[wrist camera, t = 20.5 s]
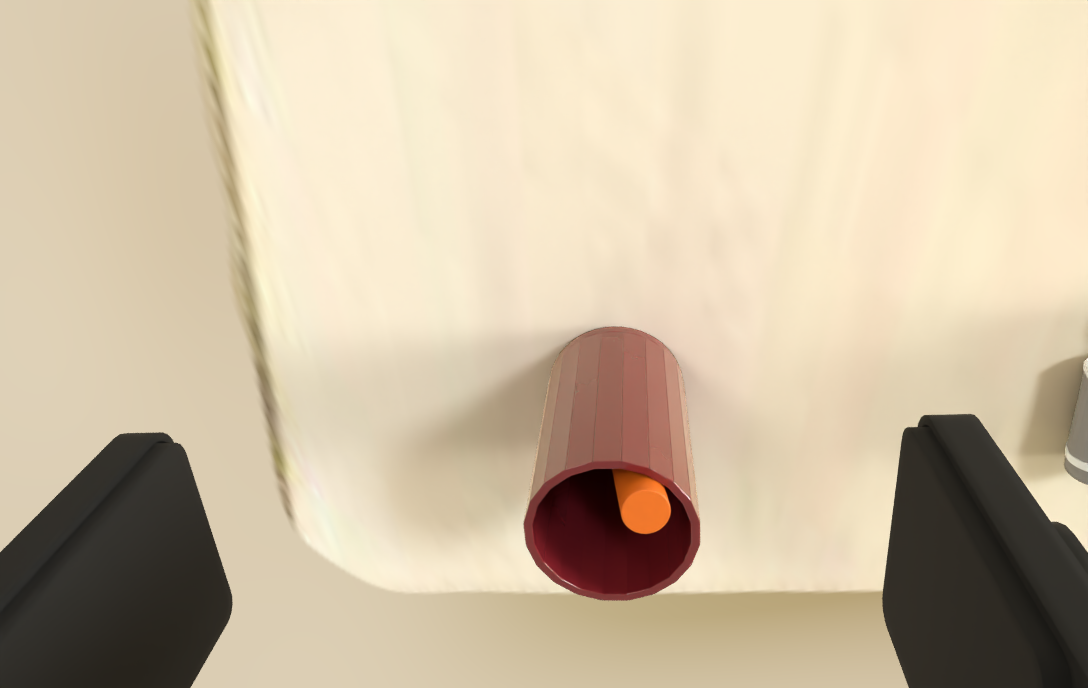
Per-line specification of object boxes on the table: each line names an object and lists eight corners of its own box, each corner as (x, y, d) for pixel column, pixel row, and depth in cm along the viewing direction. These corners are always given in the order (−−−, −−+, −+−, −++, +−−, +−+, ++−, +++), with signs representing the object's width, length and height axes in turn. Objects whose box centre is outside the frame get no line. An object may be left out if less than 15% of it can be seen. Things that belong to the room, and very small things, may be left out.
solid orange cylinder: (596, 377, 41) (619, 491, 30) (632, 374, 41) (670, 488, 30) (598, 411, 42) (622, 536, 30) (634, 408, 42) (671, 532, 30)
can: (544, 328, 41) (516, 463, 31) (682, 323, 40) (700, 459, 30) (554, 443, 44) (532, 600, 34) (683, 441, 43) (700, 600, 33)
